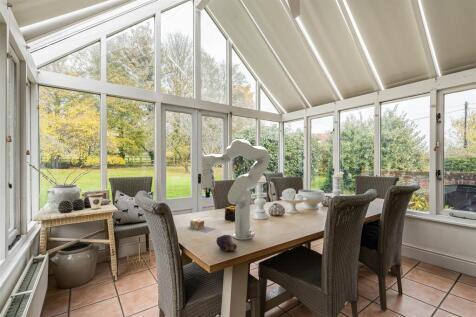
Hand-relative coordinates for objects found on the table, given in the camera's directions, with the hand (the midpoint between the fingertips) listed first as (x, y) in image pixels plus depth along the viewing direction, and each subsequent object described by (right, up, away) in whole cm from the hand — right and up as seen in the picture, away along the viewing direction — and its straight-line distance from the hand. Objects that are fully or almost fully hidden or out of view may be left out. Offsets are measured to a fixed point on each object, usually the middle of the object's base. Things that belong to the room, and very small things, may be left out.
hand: (207, 197), depth 161 cm
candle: (+18, -23, +24) cm, 38 cm away
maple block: (-4, -19, -2) cm, 20 cm away
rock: (+15, -22, -38) cm, 47 cm away
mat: (-5, -22, -2) cm, 23 cm away
